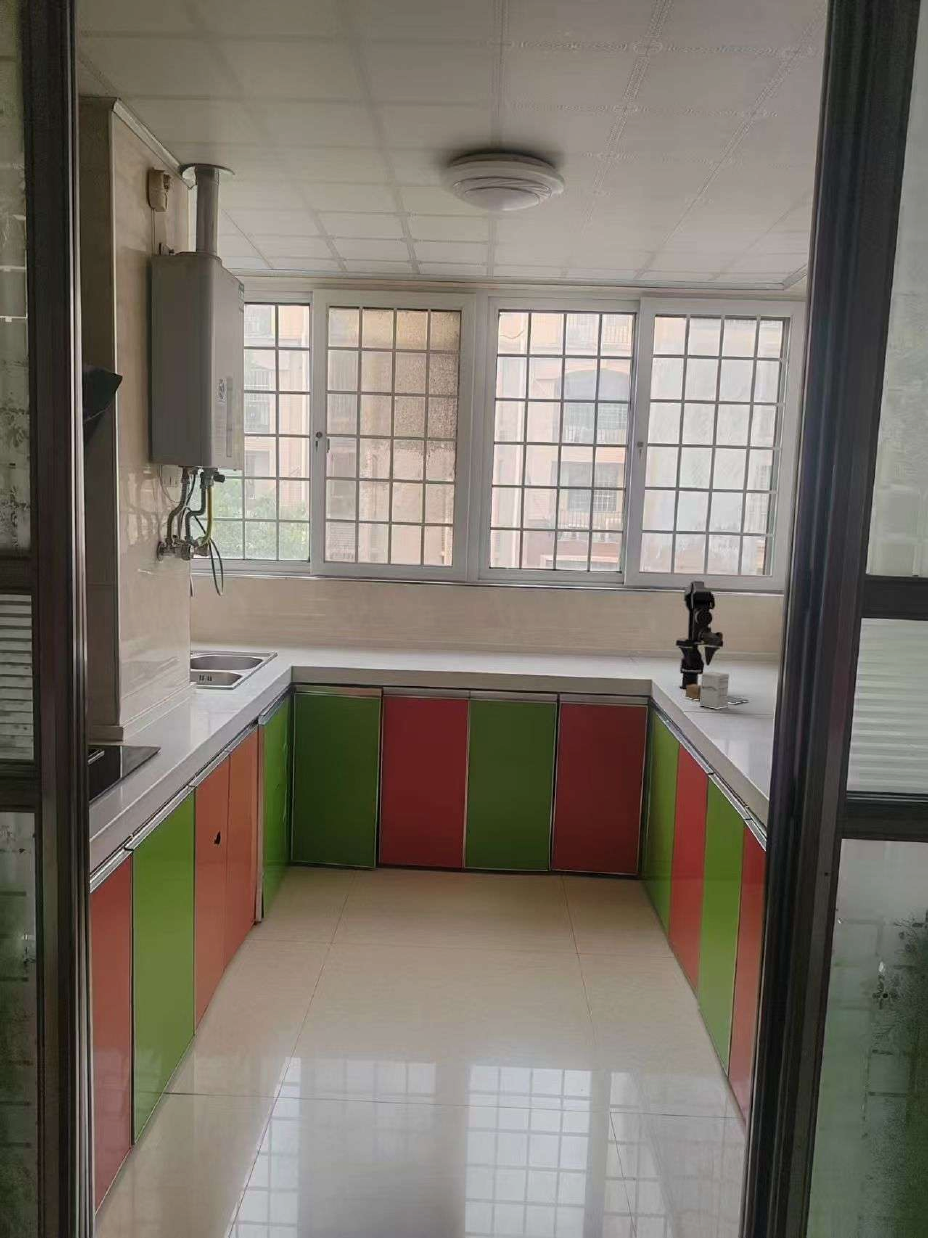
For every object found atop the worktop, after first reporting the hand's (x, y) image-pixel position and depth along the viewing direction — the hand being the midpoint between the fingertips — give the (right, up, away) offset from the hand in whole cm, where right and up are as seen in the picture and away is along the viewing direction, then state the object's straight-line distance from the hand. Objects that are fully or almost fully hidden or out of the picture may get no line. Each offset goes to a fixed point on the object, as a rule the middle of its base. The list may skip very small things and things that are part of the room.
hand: (698, 665), depth 364 cm
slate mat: (+13, -14, +3) cm, 19 cm away
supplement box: (+3, -15, -9) cm, 18 cm away
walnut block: (0, -13, +6) cm, 14 cm away
